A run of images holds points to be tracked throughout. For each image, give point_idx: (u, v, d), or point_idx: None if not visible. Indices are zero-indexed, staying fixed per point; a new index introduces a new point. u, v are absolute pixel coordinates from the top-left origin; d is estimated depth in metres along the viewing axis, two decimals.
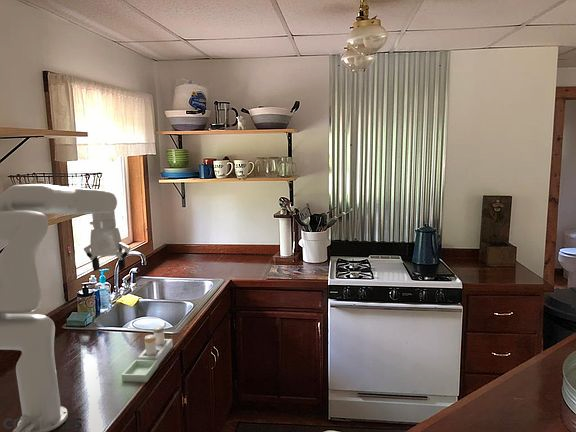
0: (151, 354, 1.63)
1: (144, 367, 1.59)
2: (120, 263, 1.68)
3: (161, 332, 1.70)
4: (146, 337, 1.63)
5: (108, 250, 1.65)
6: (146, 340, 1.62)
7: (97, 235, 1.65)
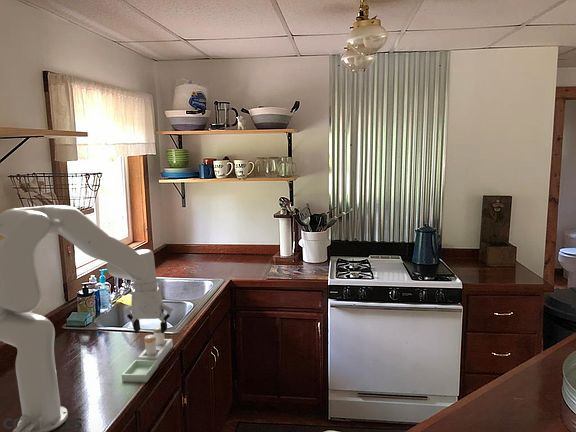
0: (151, 354, 1.63)
1: (144, 367, 1.59)
2: (162, 325, 1.61)
3: None
4: (146, 337, 1.63)
5: (150, 313, 1.59)
6: (146, 340, 1.62)
7: (138, 298, 1.58)
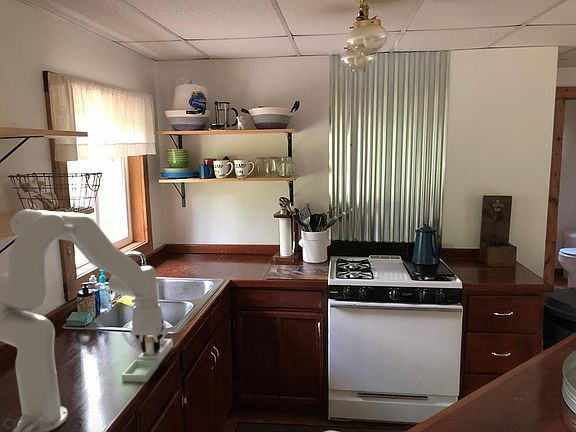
0: (151, 354, 1.63)
1: (144, 367, 1.59)
2: (155, 345, 1.62)
3: (161, 332, 1.70)
4: (146, 337, 1.63)
5: (151, 330, 1.60)
6: (146, 340, 1.62)
7: (139, 314, 1.59)
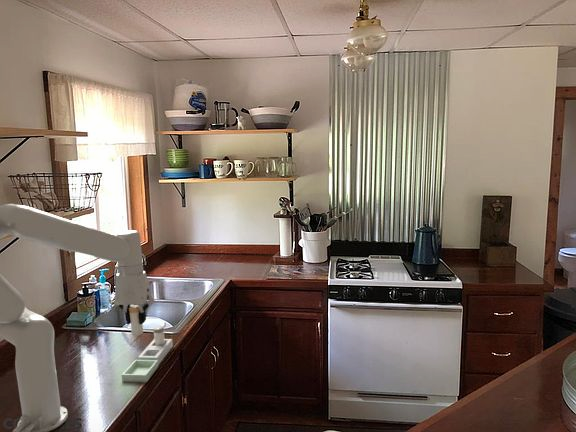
0: (136, 325, 1.51)
1: (144, 367, 1.59)
2: (141, 316, 1.51)
3: (161, 332, 1.70)
4: (131, 307, 1.51)
5: (135, 299, 1.48)
6: (131, 310, 1.50)
7: (123, 282, 1.47)
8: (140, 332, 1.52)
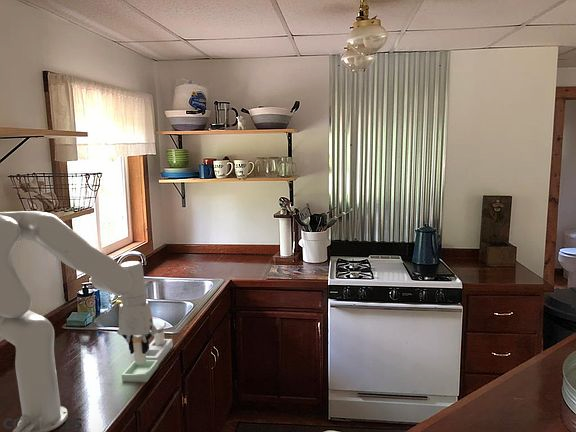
0: (139, 355, 1.53)
1: (144, 367, 1.59)
2: (144, 346, 1.52)
3: (161, 332, 1.70)
4: (134, 337, 1.53)
5: (138, 329, 1.50)
6: (134, 340, 1.52)
7: (126, 313, 1.49)
8: (143, 361, 1.54)
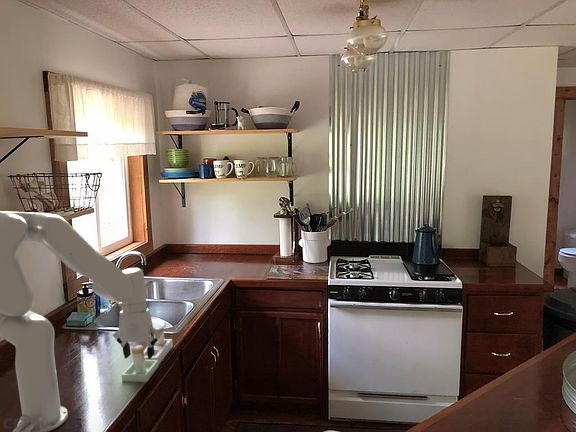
0: (139, 366, 1.53)
1: None
2: (149, 351, 1.52)
3: (161, 332, 1.70)
4: (133, 348, 1.53)
5: (139, 336, 1.50)
6: (134, 352, 1.52)
7: (127, 319, 1.50)
8: (143, 372, 1.54)
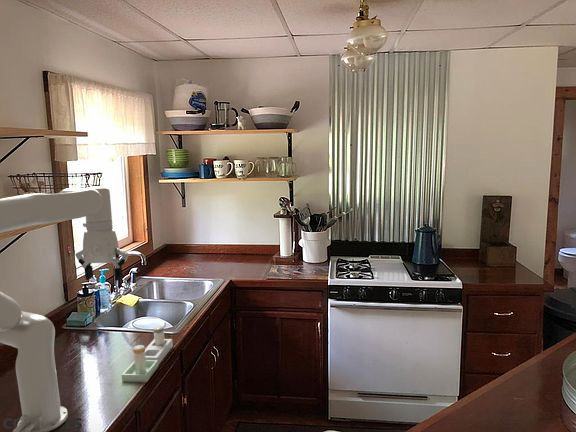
0: (140, 366, 1.53)
1: None
2: (116, 272, 1.45)
3: (161, 332, 1.70)
4: (135, 348, 1.53)
5: (103, 256, 1.43)
6: (135, 351, 1.52)
7: (91, 239, 1.43)
8: (144, 372, 1.54)
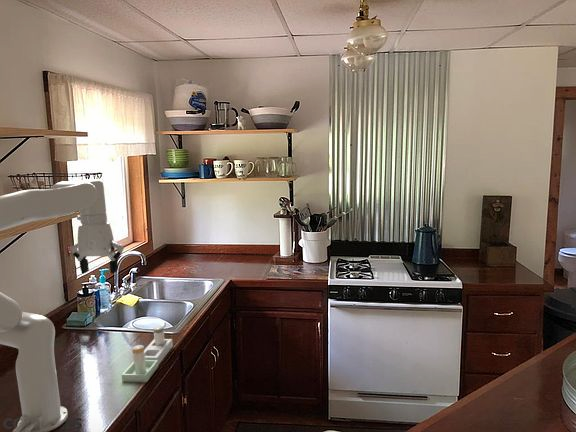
0: (140, 365, 1.53)
1: None
2: (112, 265, 1.45)
3: (161, 332, 1.70)
4: (134, 348, 1.54)
5: (98, 250, 1.43)
6: (134, 351, 1.52)
7: (85, 232, 1.43)
8: (144, 372, 1.54)
